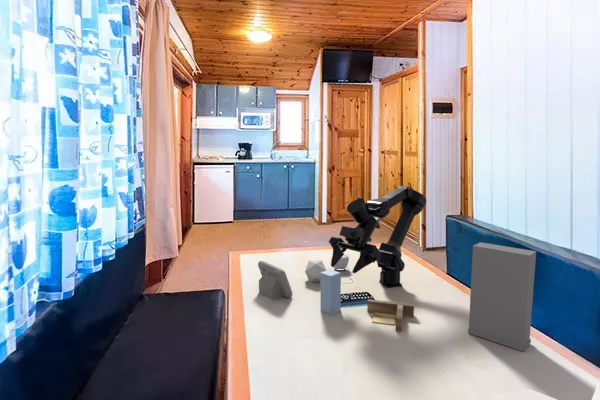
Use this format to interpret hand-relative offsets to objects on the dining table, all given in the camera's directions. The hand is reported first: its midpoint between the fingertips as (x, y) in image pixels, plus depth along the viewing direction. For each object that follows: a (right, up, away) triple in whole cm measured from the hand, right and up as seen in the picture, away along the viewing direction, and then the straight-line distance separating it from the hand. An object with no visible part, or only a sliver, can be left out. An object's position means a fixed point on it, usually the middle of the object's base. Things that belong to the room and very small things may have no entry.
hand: (342, 269), depth 122 cm
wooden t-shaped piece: (+13, -14, -10) cm, 21 cm away
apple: (+3, -7, +38) cm, 39 cm away
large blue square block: (-4, -13, -2) cm, 13 cm away
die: (-8, -9, +25) cm, 28 cm away
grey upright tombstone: (+40, -15, -21) cm, 47 cm away
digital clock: (-23, -11, +13) cm, 29 cm away
